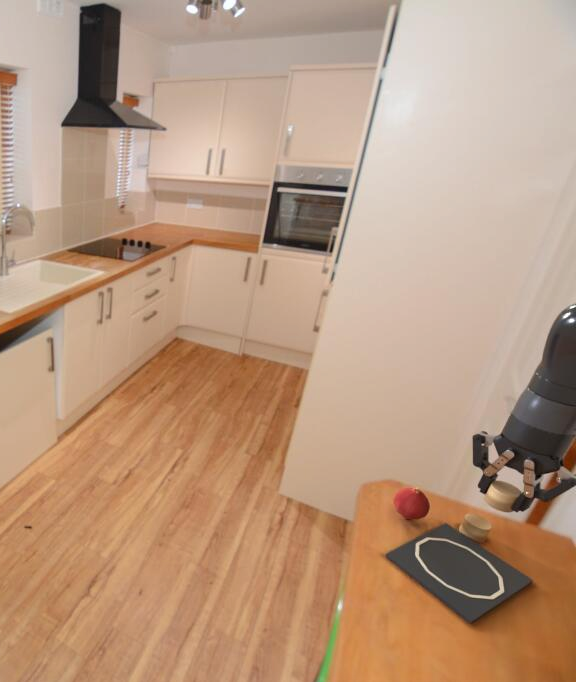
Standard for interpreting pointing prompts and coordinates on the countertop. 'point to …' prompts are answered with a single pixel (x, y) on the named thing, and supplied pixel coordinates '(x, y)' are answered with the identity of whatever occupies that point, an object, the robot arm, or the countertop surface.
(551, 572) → the countertop surface
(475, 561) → the slate board
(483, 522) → the dot
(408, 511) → the onion
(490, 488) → the dot
